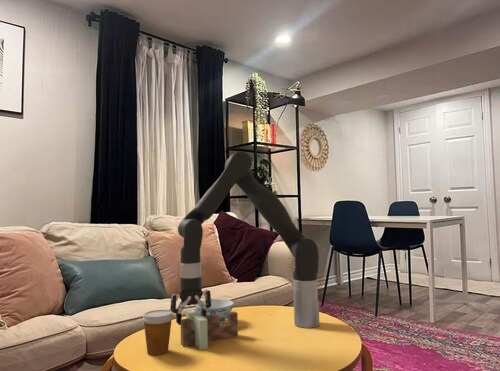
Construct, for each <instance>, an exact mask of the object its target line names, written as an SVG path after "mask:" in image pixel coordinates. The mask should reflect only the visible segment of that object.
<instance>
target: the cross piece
mask: <svg viewBox="0 0 500 371" xmlns="http://www.w3.org/2000/svg"><path fill="white" fill-rule="evenodd" d="M185 316H186V317H185V319H188V318H190V319H191V320H192V330H194V331H195V344H194V345H195V347H196V348H197V349H199V350H205V349H206V350H207V349H208V345H209V344H208V343H209V342H207V319H206V318H204V317H203V316H201V315H200V314H198V312H197V311H195V310H193V309H192V310H186V311H185Z"/></svg>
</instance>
